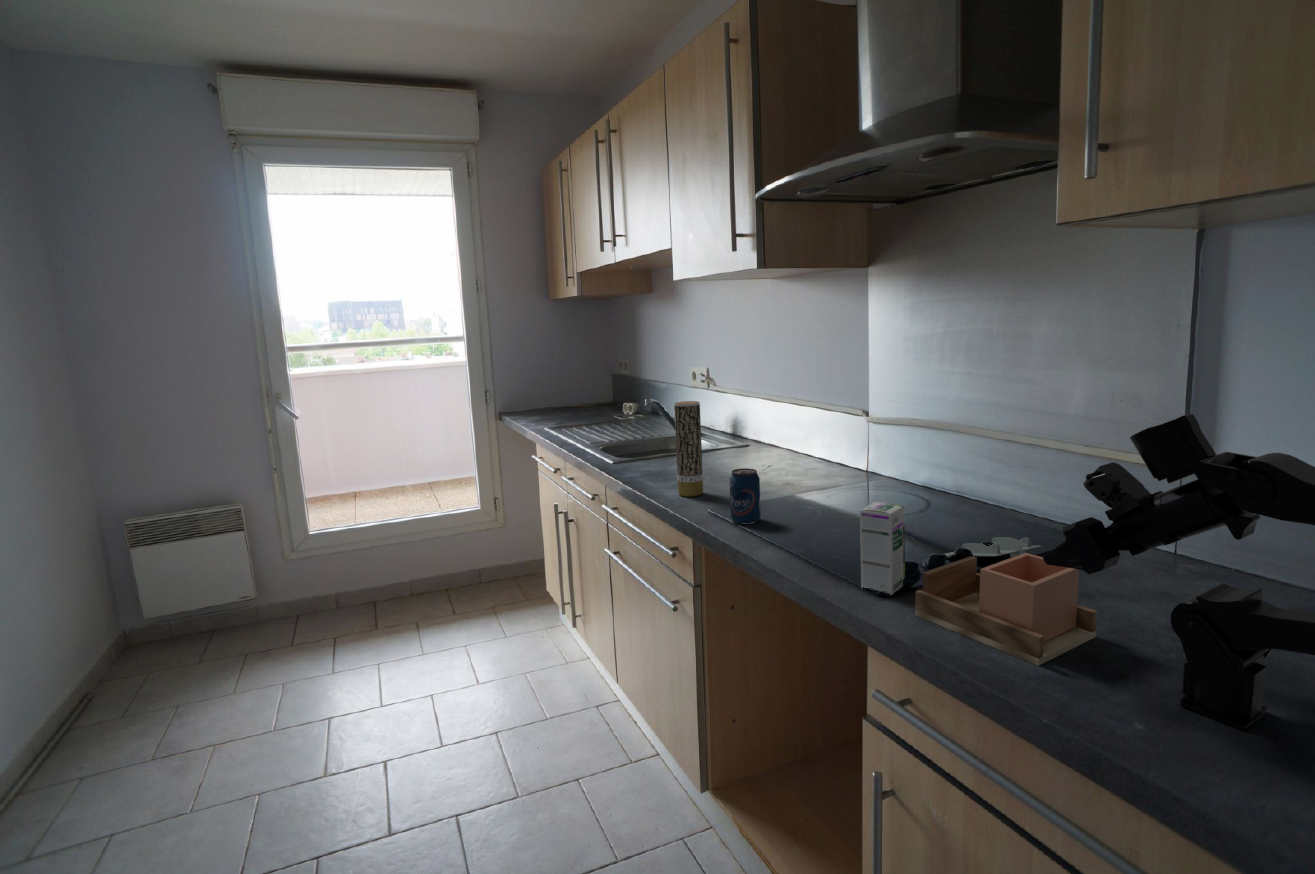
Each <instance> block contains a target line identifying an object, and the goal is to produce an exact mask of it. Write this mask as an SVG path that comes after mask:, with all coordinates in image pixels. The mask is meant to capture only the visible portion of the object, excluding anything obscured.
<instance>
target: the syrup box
mask: <svg viewBox="0 0 1315 874" xmlns="http://www.w3.org/2000/svg"><path fill="white" fill-rule="evenodd" d="M905 514H906V513H905V506H904V505H902V504H897V503H892V502H885V501H884V502H881V501H878V502H877V501H873V502H872V503H871V504H869V505H867V506H865V507H863V508H862V509H860V510H859V526H860V527H859V529H860V530H859V537H860V540H859V541H860V586H861V589H863V587H864V588H873V589H876V590H879V591H886V592H887V593H889V596H893V595H894V594H895V593H896V592H897V591H899V590H900V589H901V588H902V587H903V586H904V585H903V580H904V578H905V579H906V562H905V561H906V545H905V544H906V534H905V533H906V532H905V531H906V530H905V523H906V522H905V518H906V517H905ZM902 585H903V586H902Z"/></svg>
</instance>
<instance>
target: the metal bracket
mask: <svg viewBox="0 0 1315 874" xmlns="http://www.w3.org/2000/svg"><path fill="white" fill-rule="evenodd" d="M992 543H993V544H992ZM991 544H992V545H990V544H989V545H990V546H986V544H983V543H977V542H976V543H975V542H974V543H972V542H970V543H969V542H966V543H962V545H961V547H962V549H963V548H965V549H968V550H970V551H971V552H972V554H973V557H998V556H999V557H1000V556H1004V555H1008V554H1009V556H1010V558H1012V557H1015V556H1018V555H1021V554H1024V553H1027V550H1032V549H1038V548H1041V547H1042V545H1031V540H1030V538H1029V537H1027V536H1026V537H1022V538H1021V539H1017V538H1012V537H1008V536H1006V537H997V536H996V537H992V538H991ZM954 552H955V551H953V552H952V551H951V552H947V553H944V554H945V555H946V556H947V557H946V558H952V557H951V556H952V555H953V554H954Z"/></svg>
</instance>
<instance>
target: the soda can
mask: <svg viewBox="0 0 1315 874" xmlns="http://www.w3.org/2000/svg"><path fill="white" fill-rule="evenodd" d="M760 484H761V483H760V476H759V475H758V471H757V470H756V469H754V468H737V469H733V470H731V475H730V477H729V504H730V505H729V506H730V507H729V508H730V510H729V511H730V518H731V520H732V521H733V523H734V522H737V523H751V522H757V521H758V522H759V520H760V518H761V485H760ZM758 522H757V523H758Z"/></svg>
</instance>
